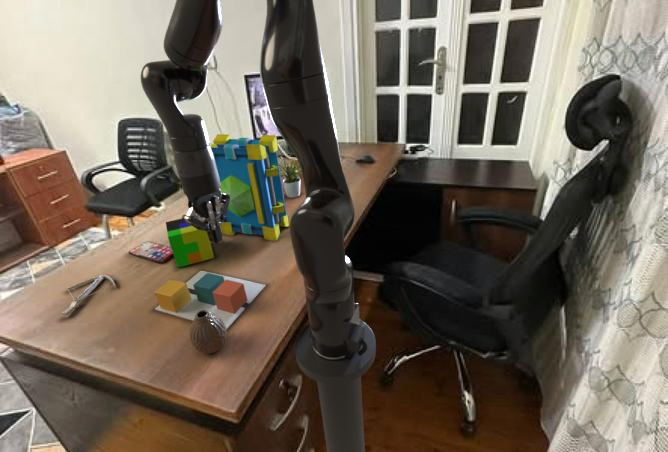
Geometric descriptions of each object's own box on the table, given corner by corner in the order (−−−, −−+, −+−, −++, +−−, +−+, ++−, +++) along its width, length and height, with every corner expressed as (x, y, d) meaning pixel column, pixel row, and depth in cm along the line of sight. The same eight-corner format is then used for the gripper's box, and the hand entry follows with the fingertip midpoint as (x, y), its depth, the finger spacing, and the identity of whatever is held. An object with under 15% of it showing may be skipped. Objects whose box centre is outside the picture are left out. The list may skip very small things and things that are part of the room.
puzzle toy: (208, 242, 110) (201, 214, 105) (214, 257, 102) (206, 227, 97) (174, 251, 106) (165, 222, 101) (177, 267, 98) (168, 236, 93)
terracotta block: (247, 300, 83) (243, 283, 81) (234, 314, 79) (229, 297, 77) (230, 295, 85) (226, 279, 83) (217, 309, 81) (212, 292, 79)
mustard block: (192, 299, 85) (186, 283, 83) (176, 313, 81) (170, 296, 79) (176, 295, 87) (170, 279, 85) (160, 308, 83) (154, 292, 81)
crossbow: (82, 281, 97) (79, 275, 96) (127, 278, 97) (124, 271, 96) (39, 319, 83) (36, 312, 82) (92, 315, 83) (89, 308, 82)
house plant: (266, 201, 134) (258, 160, 126) (280, 187, 145) (274, 149, 138) (300, 203, 130) (294, 161, 122) (312, 189, 141) (308, 149, 133)
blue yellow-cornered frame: (238, 217, 124) (218, 132, 109) (297, 223, 116) (284, 133, 102) (214, 237, 112) (188, 145, 98) (277, 245, 105) (260, 147, 90)
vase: (220, 360, 68) (209, 328, 64) (188, 358, 70) (175, 325, 65) (235, 334, 74) (225, 302, 70) (205, 332, 76) (194, 300, 71)
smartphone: (147, 240, 112) (180, 249, 105) (148, 243, 112) (181, 251, 106) (126, 251, 106) (159, 261, 100) (127, 254, 106) (160, 264, 100)
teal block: (228, 292, 86) (223, 276, 84) (214, 305, 82) (209, 289, 80) (212, 288, 88) (207, 272, 86) (198, 301, 84) (192, 284, 82)
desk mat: (265, 285, 88) (265, 284, 88) (225, 330, 75) (225, 329, 75) (201, 271, 96) (201, 270, 96) (155, 309, 83) (154, 308, 83)
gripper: (187, 182, 64) (209, 260, 72) (232, 159, 74) (248, 230, 83) (157, 179, 67) (182, 254, 75) (205, 157, 77) (223, 225, 86)
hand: (217, 241), depth 79 cm, fingers closed
